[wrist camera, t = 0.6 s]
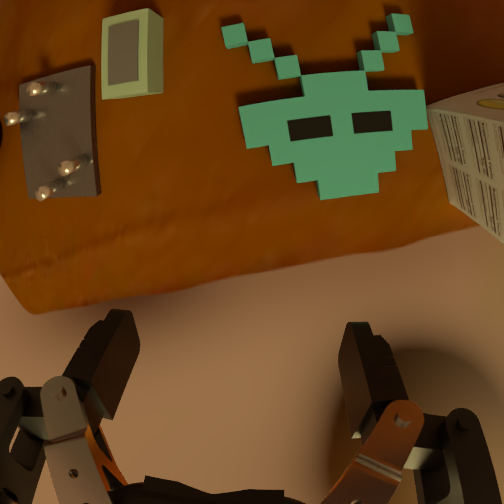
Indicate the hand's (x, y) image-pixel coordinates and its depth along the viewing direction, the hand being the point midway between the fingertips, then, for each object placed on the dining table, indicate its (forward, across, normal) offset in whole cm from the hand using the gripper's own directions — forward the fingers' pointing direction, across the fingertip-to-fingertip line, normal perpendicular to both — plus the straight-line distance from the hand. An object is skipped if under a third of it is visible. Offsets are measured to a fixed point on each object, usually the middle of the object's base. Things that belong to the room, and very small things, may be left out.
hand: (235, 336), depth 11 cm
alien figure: (+26, -8, -8) cm, 28 cm away
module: (+26, +13, -13) cm, 32 cm away
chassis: (+25, +25, -6) cm, 36 cm away
